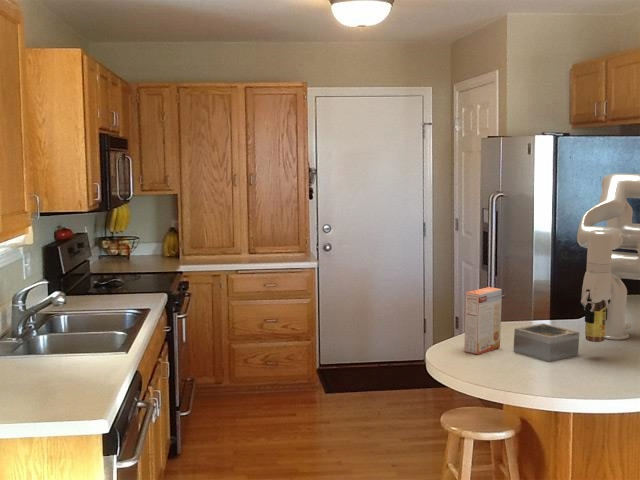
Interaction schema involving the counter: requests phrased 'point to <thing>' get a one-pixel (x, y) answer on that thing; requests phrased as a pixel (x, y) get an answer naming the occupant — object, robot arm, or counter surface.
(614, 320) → the robot arm
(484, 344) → the cracker box
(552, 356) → the grey square tray
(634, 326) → the counter surface
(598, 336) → the sauce bottle
